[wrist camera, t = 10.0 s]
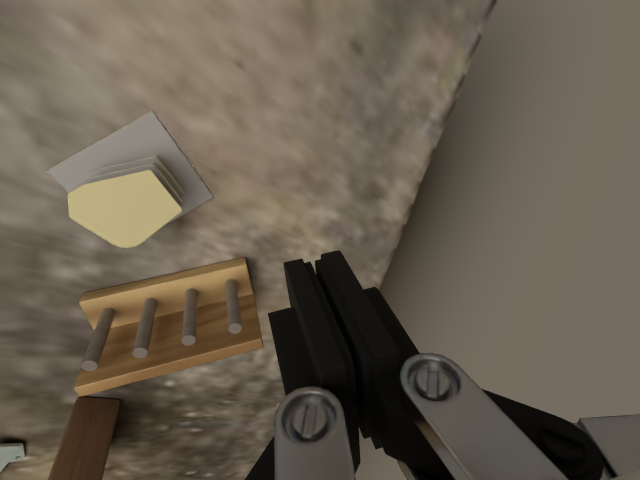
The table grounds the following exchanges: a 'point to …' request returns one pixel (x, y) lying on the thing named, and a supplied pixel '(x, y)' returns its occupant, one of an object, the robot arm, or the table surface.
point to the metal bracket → (10, 453)
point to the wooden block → (86, 440)
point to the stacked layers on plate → (130, 183)
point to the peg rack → (168, 325)
